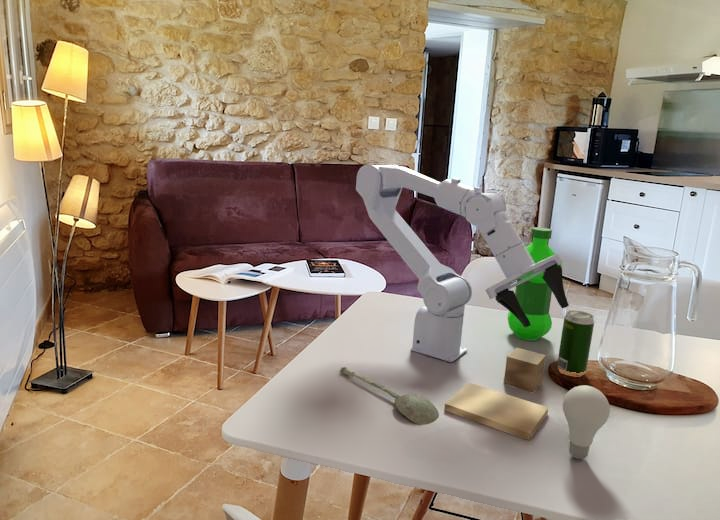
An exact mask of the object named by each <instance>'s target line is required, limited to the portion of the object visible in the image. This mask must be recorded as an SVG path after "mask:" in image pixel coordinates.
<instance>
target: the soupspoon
mask: <svg viewBox="0 0 720 520" xmlns="http://www.w3.org/2000/svg"><path fill="white" fill-rule="evenodd" d="M339 369H340V370H339V374H340V375H344V376H349V377H354V378H357V379H359V380H361V381H363V382H365V383H367V384H368V385H370V386H372V387H375V388H377V389H379V390H381V391H383V392H384V393H386V394H387V395H390V396H391V397H393V399H394V398H395V399H394V404H395V406H396V408H397V410H398V411H399V412H400V413H401V414H402V415H404V416H405V417H406V418H407V419H408V420H409V421H411V422H412V423H415V424H417V425H428V424H431V423H434V422H436V421H437V419H438V418H439V416H440V414H439V411H438V408H436V406H435V405H434V404H433V402H431V401H430V400H429V399H428V398H425V396H422V395H418V394H413V393H408V394H406V393H405V394H402V395H400V394H398V393H396V391H393V390H391V389H390V388H388V387H386V386H384V385H382V384H379V383H377V382H375V381H373V380H370V379H368V378H366V377H364V376H361V375H360V374H356V373H355V371H351V370H349V369H348V368H347V367H346V366H342V367H341V368H339Z"/></svg>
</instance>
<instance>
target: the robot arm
mask: <svg viewBox="0 0 720 520" xmlns="http://www.w3.org/2000/svg"><path fill="white" fill-rule="evenodd" d="M461 181H462V180H461V179H460V178H458V177H452V178H447V179H444V180H443V181H438V180H437V179H435V178H432V177H429V176H427V175H424V174H422V173H420V172H418V171H416V170H413V169H412V168H408V167H407V166H403V165H397V164H396V163H388V164H371V163H369V164H368V163H367V164H364V165H363V166H361V167H360V168H359V170H358V171H357V173H356V185H355V191H356V192H357V193H358V194H359V195H360V197H361V198H362V200H363V203H364V205H365V209H366V211H367V215H368V217H369V219H370V220H371V222H372V223H373V224H374V225H375V227H376V228H377V229H378V231H380V233H381V234H382V235H383V237H384V238H385V239H386V241H388V243H389V244H390V245H391V246H392V247H393V249H394V250H395V252H396V253H397V254H398V255H399V256H400V257H401V259H402V260H403V261H404V263H406V266H408V267H409V270H411V271H412V272H413V274H414V275H415V276H416V278H417V279H418V283H417V288H416V289H417V291H418V293H420V295H421V298H422V301H423V303H424V305H422V306H421V307H419V309H418V310H417V311H416V314H415V317H414V323H413V324H414V325H413V334H412V335H413V336H412V346H411V347H410V351H413V352H416V353H419V354H423V355H426V356H429V357H432V358H435V359H438V360H443V361H446V362H449V363H453V362H454V361H456V360H457V359H458V358H459V357H461V356H462V355H463V354H465V353H467V351H468V348H466V347H462V346H461V343H462V335H463V325H464V317H465V307H466V304H468V303H469V302H470V301H471V299H472V294H473V289H472V286H471V283H470V282H469V281H468V279H466V278H465V277H463V276H462V275H459V274H457V273H456V271H455V270H454V269H453V268H451V267H449V266H446V265H445V264H442V263H440V261H439V260H438V259H437V258H436V256H435V255H434V254H433V253H432V252H431V250H429V248H428V247H427V246H426V244H425V243H424V242H423V241H422V240H421V238H419V236H418V235H417V234H416V233H415V231H414V230H413V229H412V227H410V225H409V224H408V223H407V222H406V221H405V220H404V218H403V217H402V216H401V215H400V214H399V212H398V211H397V209H396V207H397V204H398V201H399V199H400V196H401V193H402V190H403V188H404V189H407V190H410V191H414V192H416V193H419V194H422V195H425V196H429V197H431V198H433V199H434V201H435V203H436V205H437V206H438V207H439V208H441V209H442V208H443V209H445V210H446V211H450V212H452V213H455V214H456V215H459V216H462V217H463V218H465V220H466V221H467V222H468V223H469V224H470V225H472V226H474V227H476V228H478V230H479V232H480V234H481V235H482V238H484V240H485V243H486V244H487V246H488V247H489V250H490V251H491V253H492V255H493V257H494V258H495V261H496V262H497V263H498V265H499V268H500V269H501V271H502V273H503V275H504V277H505V279H503V280H501V281H499V282H497V283H495V284H494V285H491V286H489V287H488V288H486V289H485V292H486V294H487V297H488V298H489V299H490V300H492V299H493V298H495V301H496V302H497V303H498V304H500V305H502V306H503V307H504V308H505V309H506V310H508V312H509V311H510V312H511V313H512V314H514V315H515V316H516V317H517V318H518V320H519V321H520V322H521V323H522V324H523V326H524V327H528V326H530V325H531V324H530V322H529V320H528V318H527V316H526V315H525V313H524V312H523V310H522V308H521V306H520V304H519V302H518V300H517V298H516V295H515V290H511V289H513V288H516V286H517V285H519V284H521V283H523V282H525V281H527V280H529V279H531V278H533V277H535V276H537V275H539V274H541V273H543V272H544V275H543V276H542V278H543V280H544V281H545V282H546V283H547V285H548V286H549V288H550V289H551V290H552V294H553V295H554V297H555V299H556V301H557V303H558V305H559V306H560V308H561V309H562V310H563V309H565V308H567V307H569V306H570V304H569V301H568V300H567V299H568V298H567V297H566V293H565V287H564V280H563V266H562V267H561V266H560V265H559V264H561V265H562V264H563V263H564V261H563V259H562V258H561V256H560V255H559V253H558V252H557V253H555V255H553V256H551V257H549V258H547V259H545V260H542V261H540V262H538V263H536V264H535V263H534V261H533V259H532V257H531V256H530V254H529V252H528V250H527V249H526V247H527V246H526V245H525V244H524V242H523V240H522V239H521V237H520V235H519V233H518V232H517V230H516V227H514V225H513V222H512V221H511V219H510V218H509V216H508V214H507V213H506V212H507V210H506V209H507V203H506V201H505V199H504V198H503V196H501V195H500V194H499V193H497V192H496V191H495V190H494V191H486V192H483V191H482V187H479V186H474V187H472V186H469V185H467V184H465V183H461ZM537 271H539V272H537ZM531 272H532V274H533V273H535V272H537V273H535V274H533V275H531V276H529V277H527V278H525V279H523V280H521V281H519V282H517V279H519V278H521V277H523V276H525V275H527V274H529V273H531ZM516 282H517V283H516Z"/></svg>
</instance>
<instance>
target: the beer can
mask: <svg viewBox="0 0 720 520" xmlns="http://www.w3.org/2000/svg"><path fill="white" fill-rule="evenodd" d="M594 318H595V316H594V314H592V313H589V312H587V311H582V310H575V309H574V310H573V309H572V310H567V311H566V313H565V315H564V317H563V325H562V330H561V336H560V337H561V338H560V344H559V349H558V355H557V364H556V367H557V366H558V367H559V368H560V369H562V370H565V371H569V372H576V373H580V372H584V371H586V372H587V369H588V362H589V356H590V352H591V351H590V350H591V345H592V344H591V343H592V339H593V338H592V337H593V333H594V327H595V326H594V325H595V320H594Z"/></svg>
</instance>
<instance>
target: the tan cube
mask: <svg viewBox="0 0 720 520" xmlns="http://www.w3.org/2000/svg"><path fill="white" fill-rule="evenodd" d="M546 357H547V355H546V354H542V353H538V352H536V351H535V352H534V351H531V350H527V349H523V348H520V347H515V349H513V350H512V352H510V353H509V354H508V355H507V356H506V362H505V368H504V369H505V370H504V377H503V384H504V385H506V386H510V387H513V388H517V389H519V390H523V391H524V392H525V391H526V392H528V393H533V394H534V393H535V392H536V390H537V389H538V388H539V387H540V385H541V384H542V383H543V380H544V370H545V364H546Z"/></svg>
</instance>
